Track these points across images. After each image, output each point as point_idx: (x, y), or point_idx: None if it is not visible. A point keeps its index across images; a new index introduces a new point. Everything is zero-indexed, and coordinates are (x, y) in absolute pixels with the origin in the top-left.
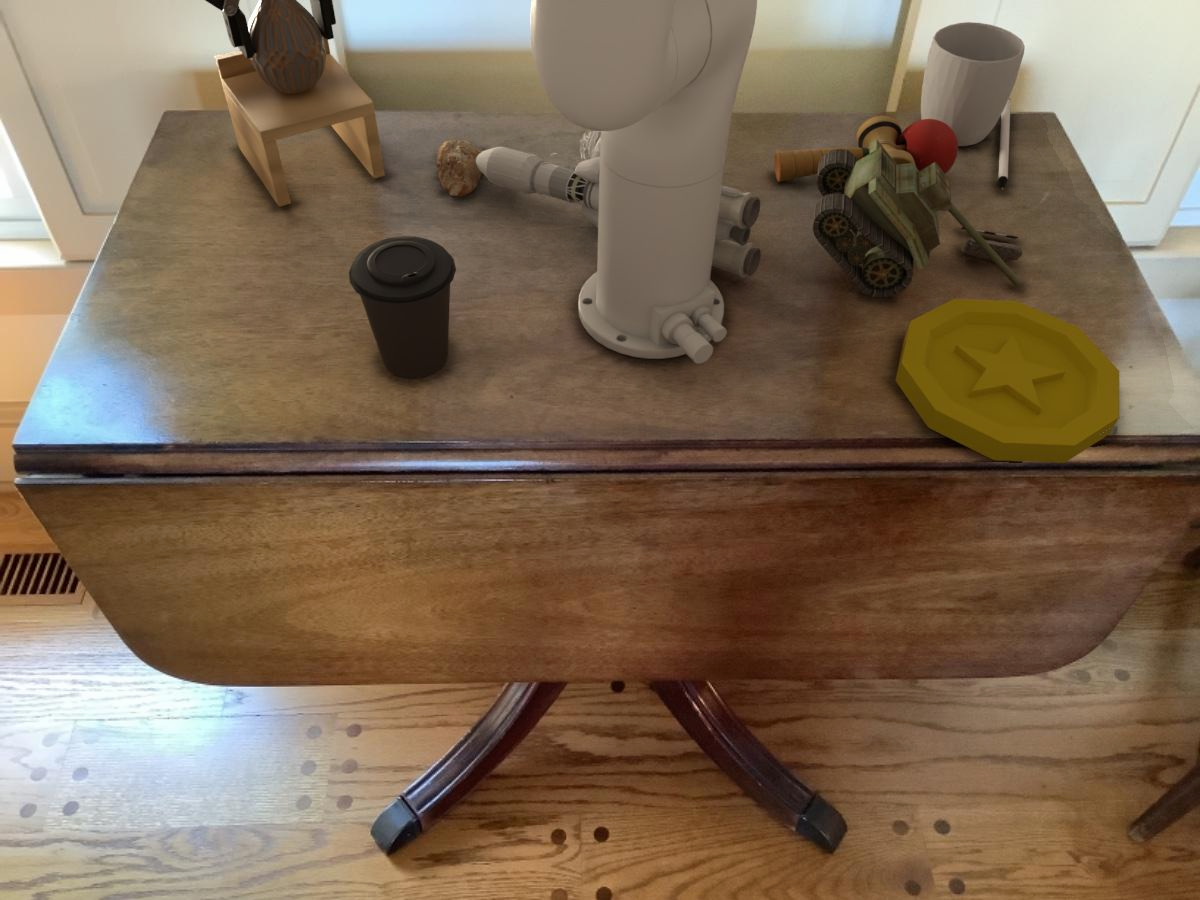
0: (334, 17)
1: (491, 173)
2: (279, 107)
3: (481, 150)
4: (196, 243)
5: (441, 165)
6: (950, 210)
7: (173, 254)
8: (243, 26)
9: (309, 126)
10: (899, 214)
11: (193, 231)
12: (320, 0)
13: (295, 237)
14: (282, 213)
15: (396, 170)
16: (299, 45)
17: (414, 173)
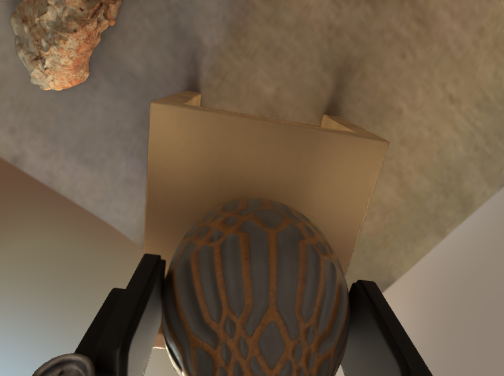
0: (108, 298)
1: None
2: (311, 197)
3: (18, 41)
4: (460, 111)
5: (101, 5)
6: None
7: (493, 108)
8: (405, 345)
9: (293, 123)
10: None
11: (445, 138)
12: (124, 344)
13: (366, 34)
14: (344, 101)
15: (162, 93)
16: (263, 238)
17: (143, 67)
